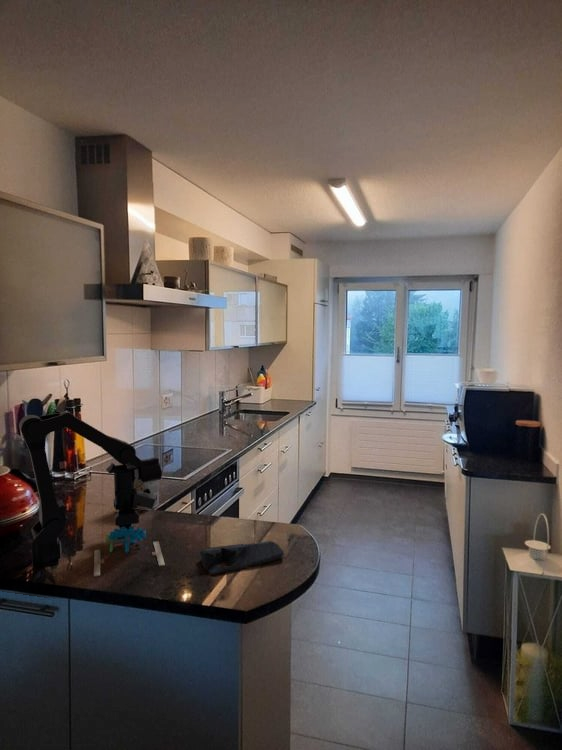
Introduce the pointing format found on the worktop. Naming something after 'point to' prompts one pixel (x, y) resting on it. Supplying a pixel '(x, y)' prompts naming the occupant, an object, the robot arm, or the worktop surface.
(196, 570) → the worktop surface
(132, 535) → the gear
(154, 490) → the coffee box
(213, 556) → the dark grey stepped bar
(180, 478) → the worktop surface
